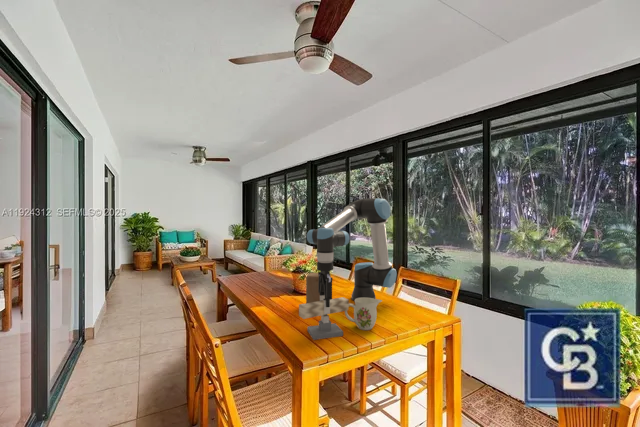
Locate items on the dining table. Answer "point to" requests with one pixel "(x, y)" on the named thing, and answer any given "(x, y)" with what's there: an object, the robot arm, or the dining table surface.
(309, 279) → the wooden block
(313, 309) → the batten
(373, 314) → the floral ceramic pitcher
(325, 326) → the fulcrum
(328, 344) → the dining table surface
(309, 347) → the dining table surface
